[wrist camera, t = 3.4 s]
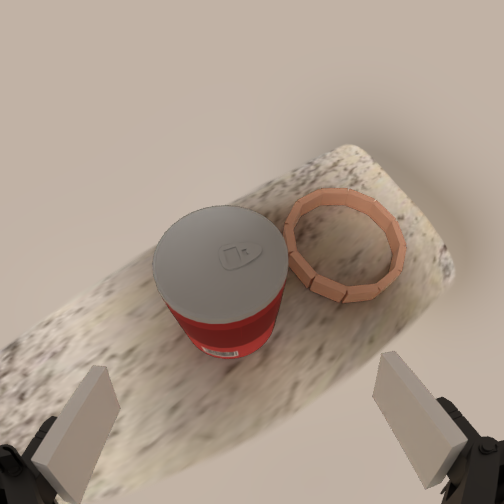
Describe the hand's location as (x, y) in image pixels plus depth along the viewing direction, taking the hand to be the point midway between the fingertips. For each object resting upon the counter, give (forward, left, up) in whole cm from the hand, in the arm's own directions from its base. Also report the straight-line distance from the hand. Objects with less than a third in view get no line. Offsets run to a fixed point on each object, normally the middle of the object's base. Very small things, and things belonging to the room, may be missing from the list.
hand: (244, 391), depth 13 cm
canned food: (0, +8, -12) cm, 14 cm away
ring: (+13, +12, -11) cm, 22 cm away
